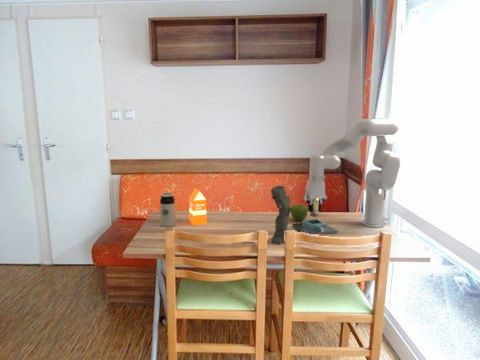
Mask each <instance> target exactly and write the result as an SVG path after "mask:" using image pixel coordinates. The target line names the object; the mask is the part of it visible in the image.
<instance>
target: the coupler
mask: <svg viewBox="0 0 480 360" xmlns="http://www.w3.org/2000/svg"><path fill="white" fill-rule="evenodd" d="M312 205H313V211H312V212H310V211H309V215H310V217H312V218H318V217H319V212H320V211H319V199H313V202H312Z"/></svg>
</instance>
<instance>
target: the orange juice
mask: <svg viewBox="0 0 480 360" xmlns="http://www.w3.org/2000/svg"><path fill="white" fill-rule="evenodd" d="M188 200H189V201H188V204H189V205H188V206H189V207H188V208H189V213H188V214H189V222H190V223H191V224H192V226H194V225H196V226H200V225H201V224H203V225H207V223H208V222H207V198H206V197H205V196H204V195H203V193H202V192H201V190H199V189H198V188H196V187H195V188H194V189H193V191H192V193H191V194H190V196H189V197H188Z"/></svg>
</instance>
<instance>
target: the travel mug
mask: <svg viewBox="0 0 480 360" xmlns="http://www.w3.org/2000/svg"><path fill="white" fill-rule="evenodd" d="M174 195H175V193H172V192H164V193H161V194H160V200H159V203H160V225H161V227H165V228H168V227H169V228H171V227H174V226H175V225H176V205H175V204H176V202H175V198H174V197H175V196H174Z"/></svg>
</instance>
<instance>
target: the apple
mask: <svg viewBox="0 0 480 360" xmlns="http://www.w3.org/2000/svg"><path fill="white" fill-rule="evenodd" d="M290 208H291V209H290V214H291V217H292V219H294V220H295V221H296V222H303V220H306V218H307V216H308V213H309V210H308V206H306V205H305V204H297V203H296V204H293V205H290Z"/></svg>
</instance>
